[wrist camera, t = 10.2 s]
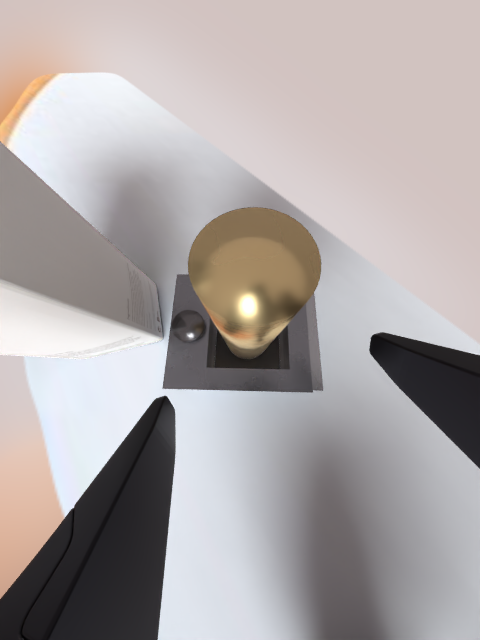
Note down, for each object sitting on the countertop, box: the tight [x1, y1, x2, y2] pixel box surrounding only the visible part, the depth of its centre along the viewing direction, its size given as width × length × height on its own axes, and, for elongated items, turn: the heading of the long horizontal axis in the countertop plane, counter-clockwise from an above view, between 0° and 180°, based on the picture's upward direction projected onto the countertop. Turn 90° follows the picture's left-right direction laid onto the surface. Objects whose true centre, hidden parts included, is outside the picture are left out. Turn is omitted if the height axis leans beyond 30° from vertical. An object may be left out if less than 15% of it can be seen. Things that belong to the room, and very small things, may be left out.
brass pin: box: [188, 207, 321, 359], centre depth 12 cm, size 4×4×13 cm
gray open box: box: [163, 275, 323, 392], centre depth 16 cm, size 12×9×5 cm
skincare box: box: [0, 142, 163, 360], centre depth 11 cm, size 8×7×16 cm
